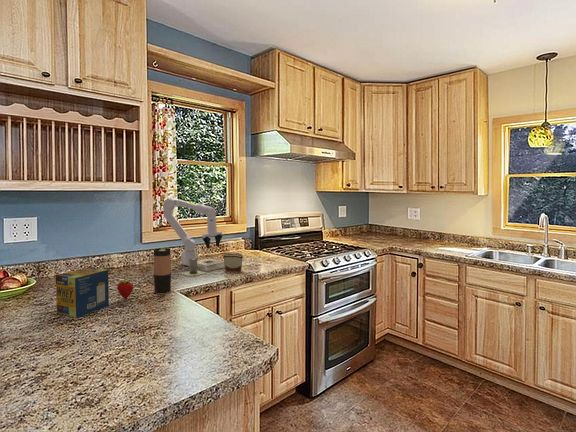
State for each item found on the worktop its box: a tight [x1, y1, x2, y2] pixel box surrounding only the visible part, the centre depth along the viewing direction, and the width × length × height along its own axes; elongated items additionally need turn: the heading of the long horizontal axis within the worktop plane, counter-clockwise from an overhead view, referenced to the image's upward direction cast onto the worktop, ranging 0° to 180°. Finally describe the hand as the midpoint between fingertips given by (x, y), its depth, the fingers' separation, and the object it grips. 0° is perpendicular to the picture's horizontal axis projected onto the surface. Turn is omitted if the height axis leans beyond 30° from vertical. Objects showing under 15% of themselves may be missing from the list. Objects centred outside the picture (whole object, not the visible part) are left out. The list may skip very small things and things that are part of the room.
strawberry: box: [116, 278, 134, 300], centre depth 154 cm, size 6×8×10 cm
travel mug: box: [153, 247, 172, 294], centre depth 166 cm, size 8×8×20 cm
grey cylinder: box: [188, 257, 198, 274], centre depth 200 cm, size 4×4×8 cm
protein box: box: [55, 266, 110, 319], centre depth 140 cm, size 10×15×16 cm
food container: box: [222, 252, 245, 273], centre depth 208 cm, size 12×6×10 cm, turn 83°
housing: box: [197, 258, 225, 273], centre depth 215 cm, size 14×14×4 cm
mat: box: [180, 270, 207, 278], centre depth 200 cm, size 10×10×1 cm
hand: (213, 247), depth 224 cm, fingers open, 7 cm apart
